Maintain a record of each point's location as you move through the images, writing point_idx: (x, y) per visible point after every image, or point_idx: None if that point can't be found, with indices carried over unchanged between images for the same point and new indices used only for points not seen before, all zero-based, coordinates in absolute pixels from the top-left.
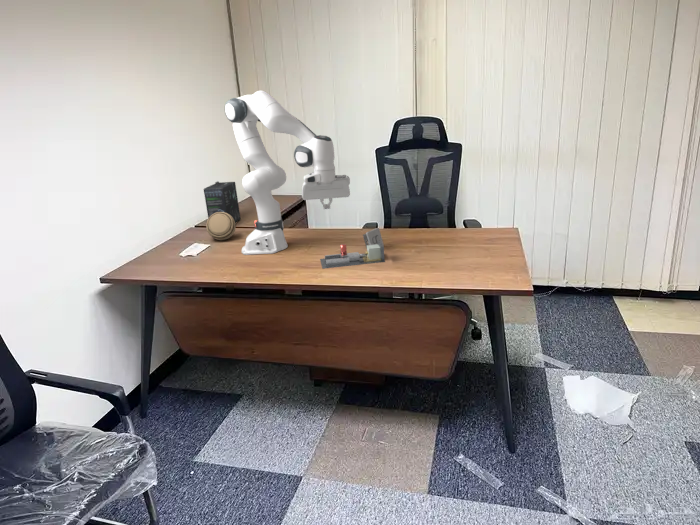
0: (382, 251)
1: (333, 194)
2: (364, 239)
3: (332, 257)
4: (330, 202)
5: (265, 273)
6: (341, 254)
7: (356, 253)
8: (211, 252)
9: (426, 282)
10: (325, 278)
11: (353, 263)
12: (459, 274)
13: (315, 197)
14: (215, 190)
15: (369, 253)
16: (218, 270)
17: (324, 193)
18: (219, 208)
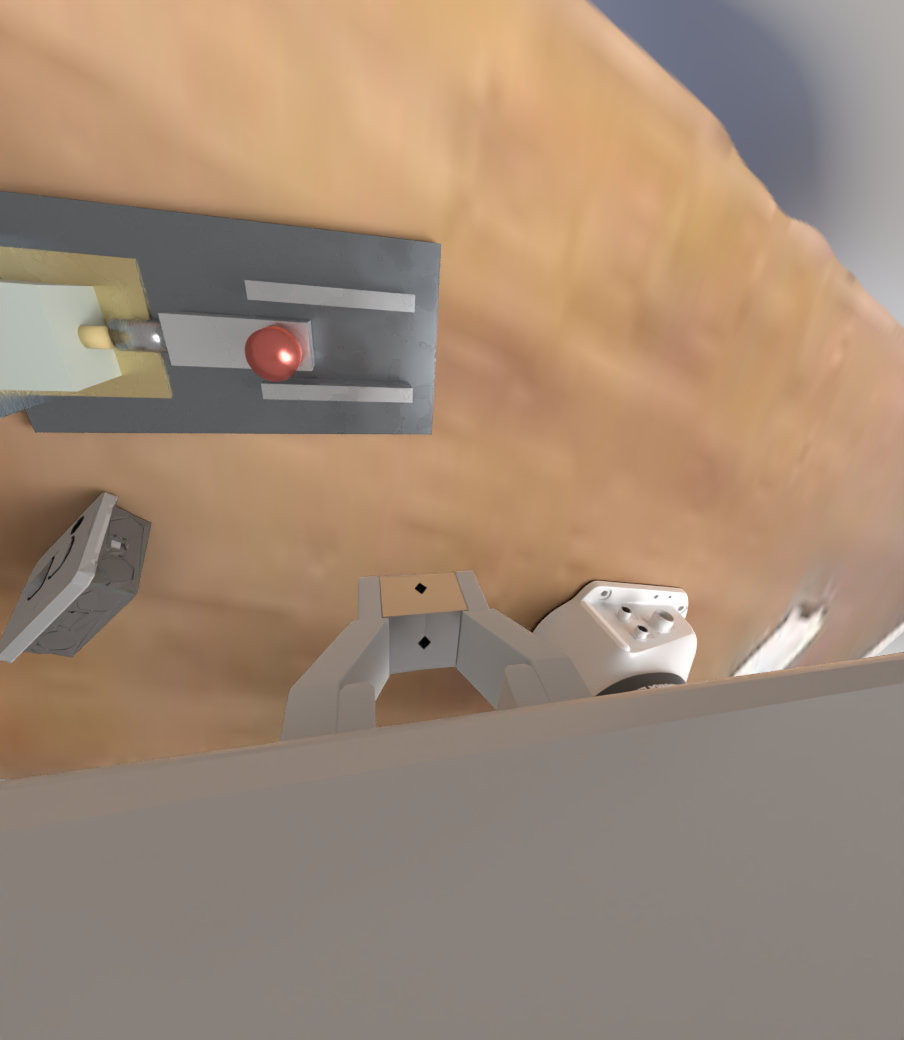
0: None
1: (173, 899)
2: (137, 568)
3: (364, 384)
4: (346, 653)
5: (699, 340)
6: (301, 337)
7: (184, 335)
8: (749, 629)
9: None
10: (440, 53)
11: (223, 262)
12: None
13: (769, 714)
14: None
15: (58, 285)
16: (814, 452)
17: (577, 902)
18: None
